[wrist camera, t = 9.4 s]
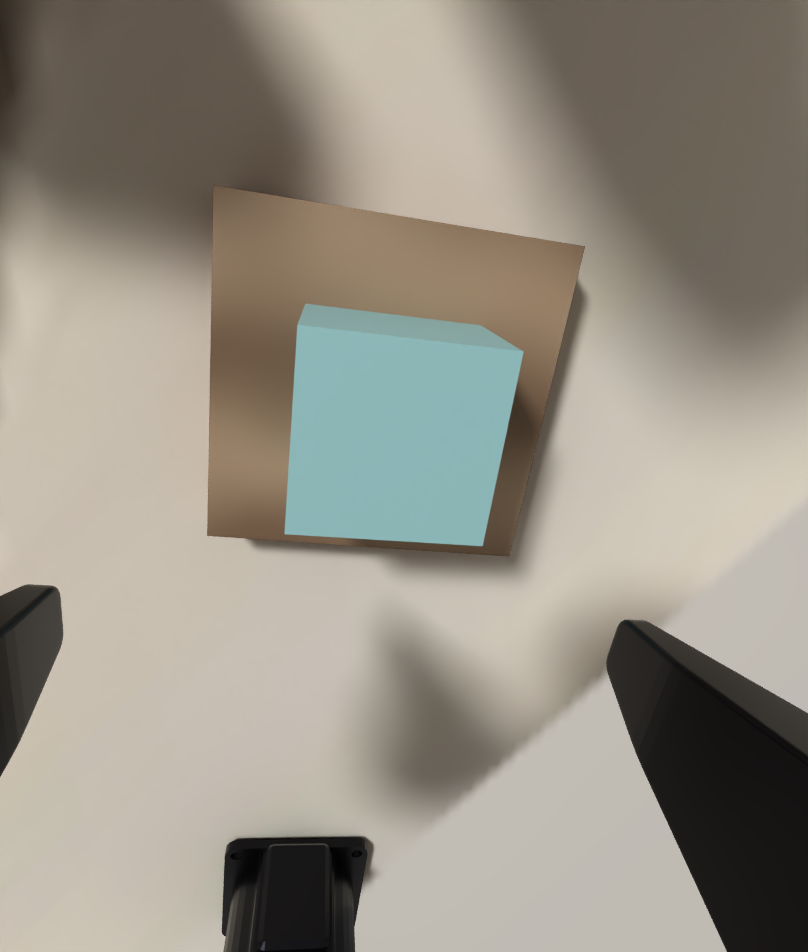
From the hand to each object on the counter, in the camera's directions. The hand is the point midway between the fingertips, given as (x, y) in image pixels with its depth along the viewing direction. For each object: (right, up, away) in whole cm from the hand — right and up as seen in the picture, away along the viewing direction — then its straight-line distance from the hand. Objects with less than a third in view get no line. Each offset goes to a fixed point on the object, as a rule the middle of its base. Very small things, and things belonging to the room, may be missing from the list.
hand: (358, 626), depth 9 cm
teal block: (0, +5, +8) cm, 9 cm away
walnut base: (0, +5, +10) cm, 11 cm away
